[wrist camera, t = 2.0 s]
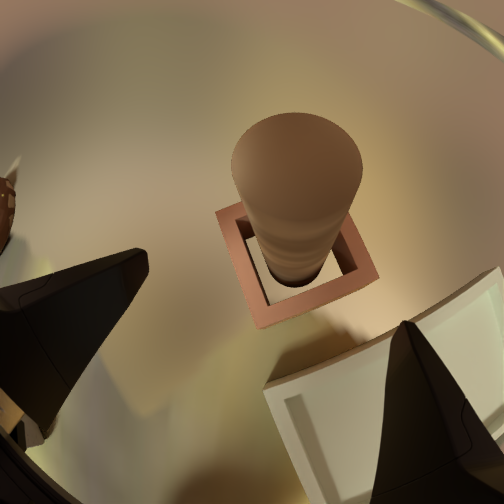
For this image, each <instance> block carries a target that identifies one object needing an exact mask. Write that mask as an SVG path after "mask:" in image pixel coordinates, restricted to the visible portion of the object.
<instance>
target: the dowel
mask: <svg viewBox="0 0 504 504" xmlns="http://www.w3.org/2000/svg"><path fill="white" fill-rule="evenodd" d="M231 169H232V176H233V179H234V181H235V185H236V187H237V190H238V192H239V195H240V197H241V200H242V202H243V205H244V208H245V210H246V213H247V215H248V218H249V220H250V223H251V225H252V228H253V231H254V233H255V236H256V238H257V241H258V243H259V246H260V249H261V251H262V254H263V256H264V259H265V262H266V264H267V267H268V269H269V272H270V274H271V275H272V277H273V278H274V279H275V280H276V281H277V282H279V283H280V284H282V285H284V286H287V287H293V288H297V287H303V286H305V285H308V284H309V283H311V282H312V281H313V280H314V279H315V278H316V277H317V276H318V274H319V272H320V271H321V268H322V266H323V264H324V262H325V260H326V258H327V256H328V254H329V252H330V250H331V248H332V246H333V244H334V242H335V239H336V237H337V235H338V233H339V231H340V229H341V226H342V224H343V222H344V220H345V218H346V215H347V213H348V211H349V208H350V206H351V204H352V202H353V199H354V197H355V194H356V192H357V190H358V188H359V185H360V183H361V178H362V171H363V166H362V159H361V155H360V152H359V150H358V148H357V146H356V144H355V143H354V141H353V140H352V138H351V137H350V136H349V135H348V134H347V133H346V132H345V131H344V130H343V129H342V128H340V127H339V126H338V125H336V124H335V123H333V122H331V121H329V120H327V119H325V118H322V117H319V116H316V115H312V114H307V113H284V114H278V115H274V116H271V117H268V118H266V119H264V120H262V121H260V122H258V123H257V124H255V125H253V126H252V127H251V128H250V129H248V130H247V131H246V132H245V133H244V134H243V136H242V137H241V138H240V140H239V141H238V143H237V145H236V147H235V149H234V152H233V155H232V162H231Z"/></svg>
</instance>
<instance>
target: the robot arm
mask: <svg viewBox="0 0 504 504" xmlns="http://www.w3.org/2000/svg"><path fill="white" fill-rule="evenodd" d="M148 273H149V263H148V255H147V252H146V251H145V250H143V249H140V248H133V249H130V250H126V251H123V252H119V253H116V254H113V255H109V256H106V257H103V258H99V259H96V260H93V261H89V262H86V263H83V264H80V265H76V266H73V267H70V268H67V269H64V270H61V271H58V272H54V274H53V273H51V274H48V275H45V276H42V277H39V278H36V279H32V280H29V281H25V282H22V283H18V284H14V285H10V286H7V287H3V288H0V504H82V503H81V502H80V501H78V500H77V499H76V498H75V497H73V496H72V495H71V494H69V493H68V492H67V491H66V490H64V489H63V488H62V487H61V486H60V485H58V484H57V483H56V482H55V481H54V480H53V479H52V478H50V477H49V476H48V475H47V474H46V473H45V472H44V471H43V470H42V469H41V468H40V467H39V466H38V465H37V464H35V463H34V462H33V461H32V460H31V459H30V457H29V456H28V455H27V454H26V453H25V451H26V449H27V447H26V437H25V424H24V422H23V421H22V420H21V419H22V418H23V416H24V415H25V414H26V415H27V416H29V417H30V418H31V419H32V420H33V421H34V422H35V423H36V424H37V425H39V426H40V427H41V428H42V429H43V430H44V431H47V430H48V428H49V427H50V425H51V423H52V422H53V420H54V418H55V416H56V415H57V413H58V411H59V410H60V408H61V406H62V405H63V403H64V401H65V400H66V398H67V397H68V395H69V393H70V392H71V390H72V388H73V387H74V385H75V384H76V382H77V381H78V379H79V377H80V376H81V374H82V373H83V371H84V370H85V368H86V367H87V365H88V364H89V362H90V361H91V359H92V358H93V356H94V355H95V353H96V352H97V350H98V349H99V348H100V346H101V345H102V343H103V342H104V340H105V339H106V338H107V336H108V335H109V333H110V332H111V330H112V329H113V328H114V326H115V325H116V323H117V322H118V321H119V319H120V318H121V317H122V315H123V314H124V312H125V311H126V310H127V308H128V307H129V305H130V303H131V302H132V301H133V299H134V297H135V295H136V294H137V292H138V290H139V289H140V287H141V285H142V284H143V282H144V281H145V279H146V277H147V276H148ZM369 504H504V454H503V452H502V451H501V449H500V448H499V446H498V445H497V443H496V442H495V440H494V439H493V437H492V436H491V434H490V433H489V431H488V430H487V429H486V427H485V426H484V424H483V423H482V421H481V420H480V418H479V417H478V415H477V413H476V412H475V410H474V409H473V407H472V405H471V404H470V402H469V401H468V399H467V398H466V396H465V394H464V393H463V391H462V390H461V388H460V386H459V385H458V383H457V382H456V380H455V379H454V377H453V376H452V374H451V373H450V371H449V370H448V368H447V367H446V365H445V364H444V363H443V361H442V360H441V358H440V357H439V355H438V354H437V353H436V351H435V350H434V348H433V347H432V346H431V344H430V343H429V341H428V340H427V339H426V337H425V336H424V335H423V333H422V332H421V331H420V329H419V328H418V327H417V325H416V324H415V323H414V322H411V321H406V320H404V321H402V322H401V323H400V325H399V327H398V328H397V330H396V332H395V333H394V335H393V337H392V339H391V342H390V350H389V358H388V366H387V374H386V381H385V395H384V410H383V422H382V432H381V441H380V449H379V456H378V462H377V469H376V474H375V480H374V485H373V490H372V495H371V499H370V503H369Z"/></svg>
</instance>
